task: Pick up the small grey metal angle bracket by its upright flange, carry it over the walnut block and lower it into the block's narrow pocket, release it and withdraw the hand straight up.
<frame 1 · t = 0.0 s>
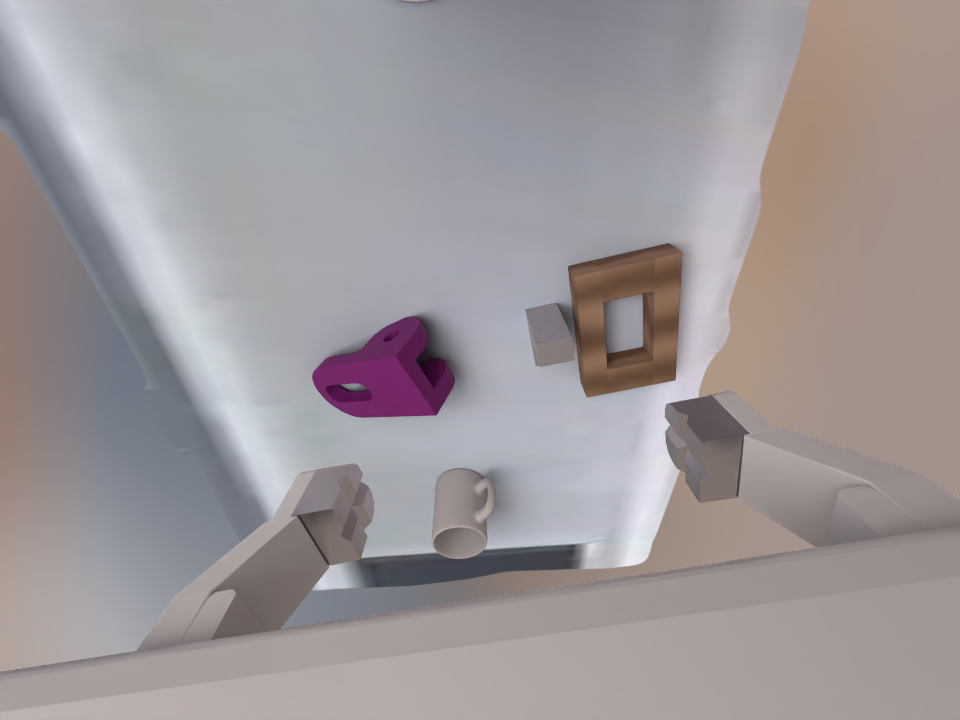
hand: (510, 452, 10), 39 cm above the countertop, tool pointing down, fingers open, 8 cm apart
mounting bracket: (380, 362, 55), on the countertop
mug: (467, 478, 68), on the countertop
well block: (620, 320, 52), on the countertop
angle bracket: (542, 316, 52), on the countertop
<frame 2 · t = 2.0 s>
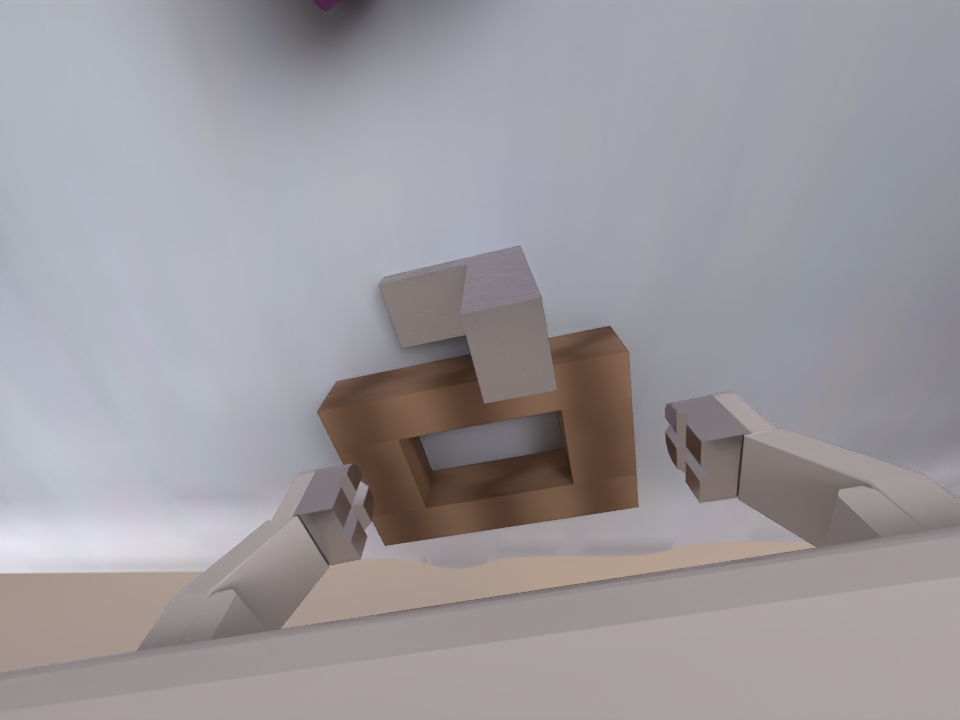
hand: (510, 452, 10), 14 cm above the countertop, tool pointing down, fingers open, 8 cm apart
well block: (488, 428, 28), on the countertop
angle bracket: (501, 285, 23), on the countertop
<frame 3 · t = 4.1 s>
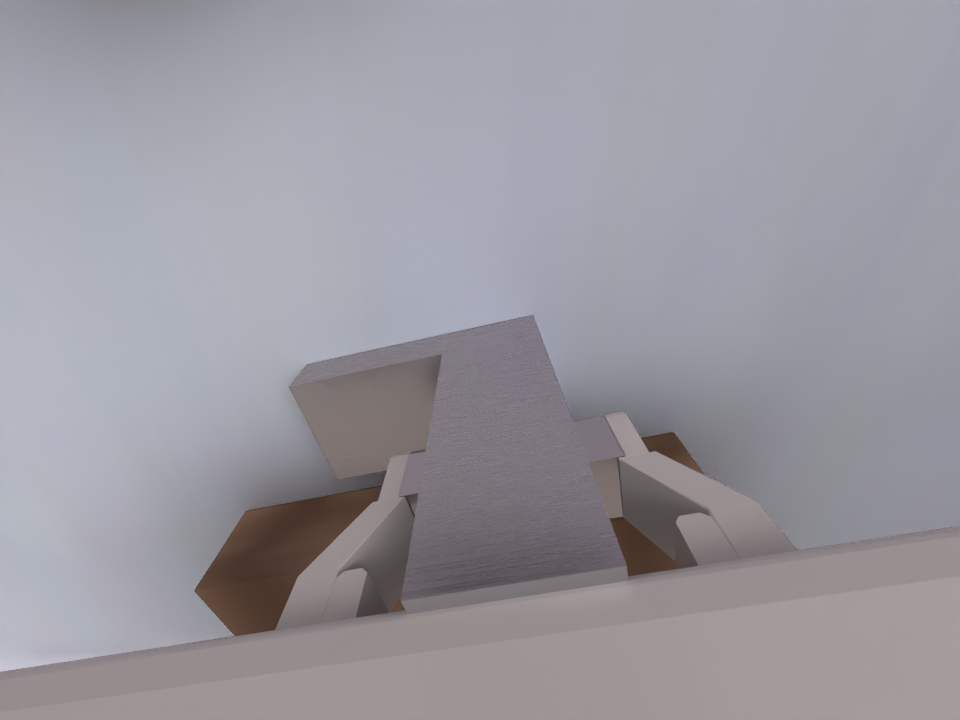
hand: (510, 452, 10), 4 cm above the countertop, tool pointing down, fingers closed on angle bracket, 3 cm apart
well block: (481, 567, 19), on the countertop
angle bracket: (500, 375, 14), on the countertop, touching gripper
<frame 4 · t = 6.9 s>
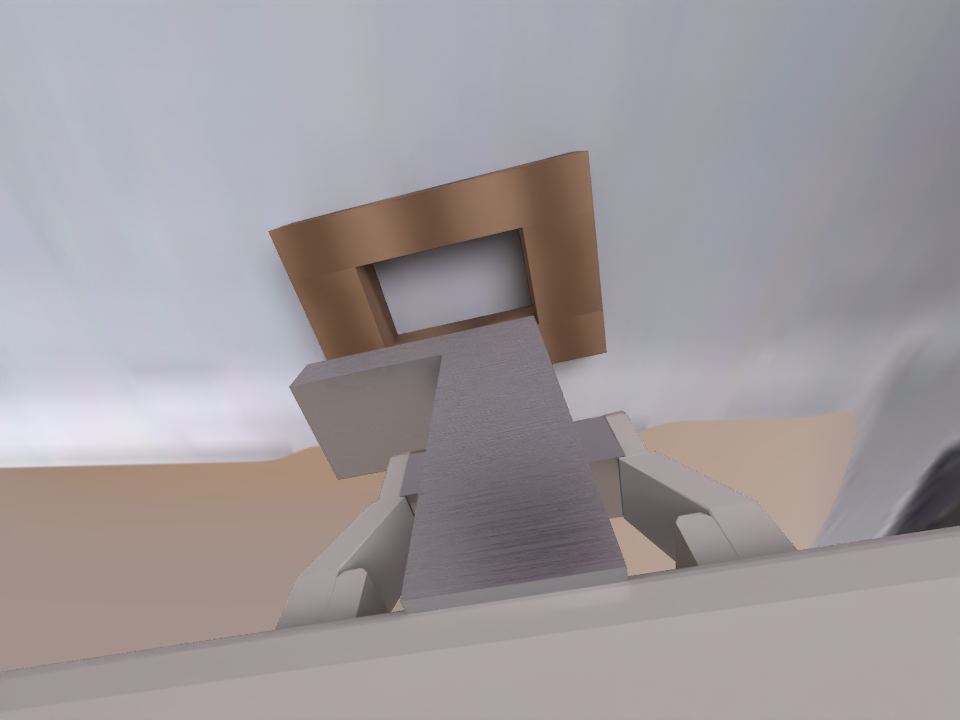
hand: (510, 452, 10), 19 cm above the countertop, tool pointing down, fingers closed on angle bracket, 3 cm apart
well block: (453, 280, 27), on the countertop
angle bracket: (501, 375, 14), point 14 cm above the countertop, touching gripper
when the fingers open (5 cm above the countertop, at t = 9.9 s): angle bracket stays where it is, resting in well block.
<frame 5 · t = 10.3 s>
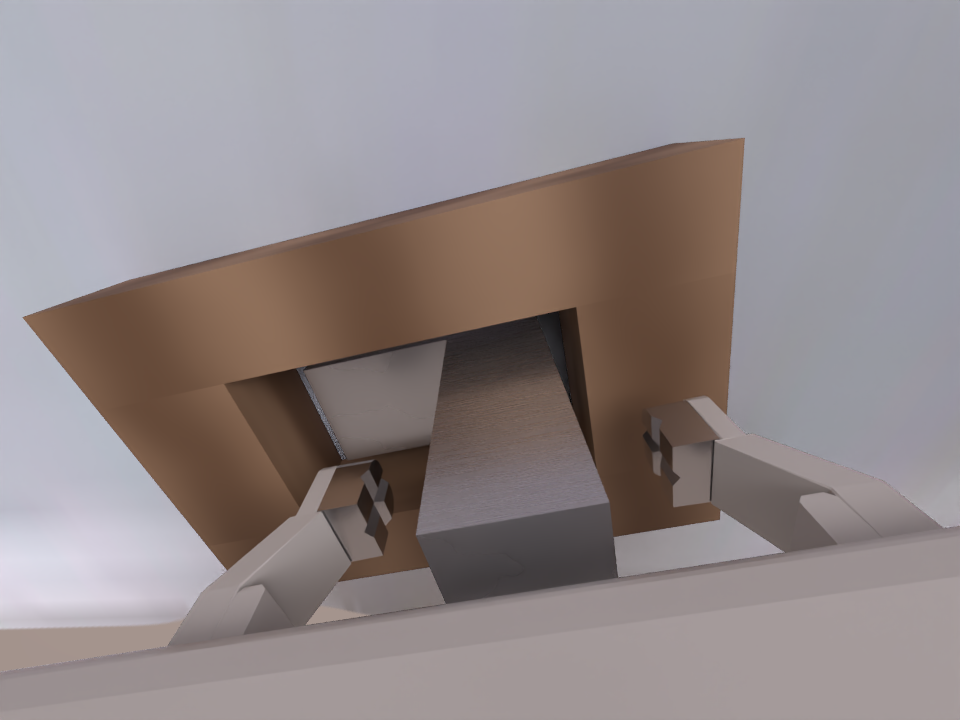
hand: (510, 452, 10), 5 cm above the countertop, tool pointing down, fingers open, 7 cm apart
well block: (434, 377, 15), on the countertop
angle bracket: (501, 362, 15), resting in well block
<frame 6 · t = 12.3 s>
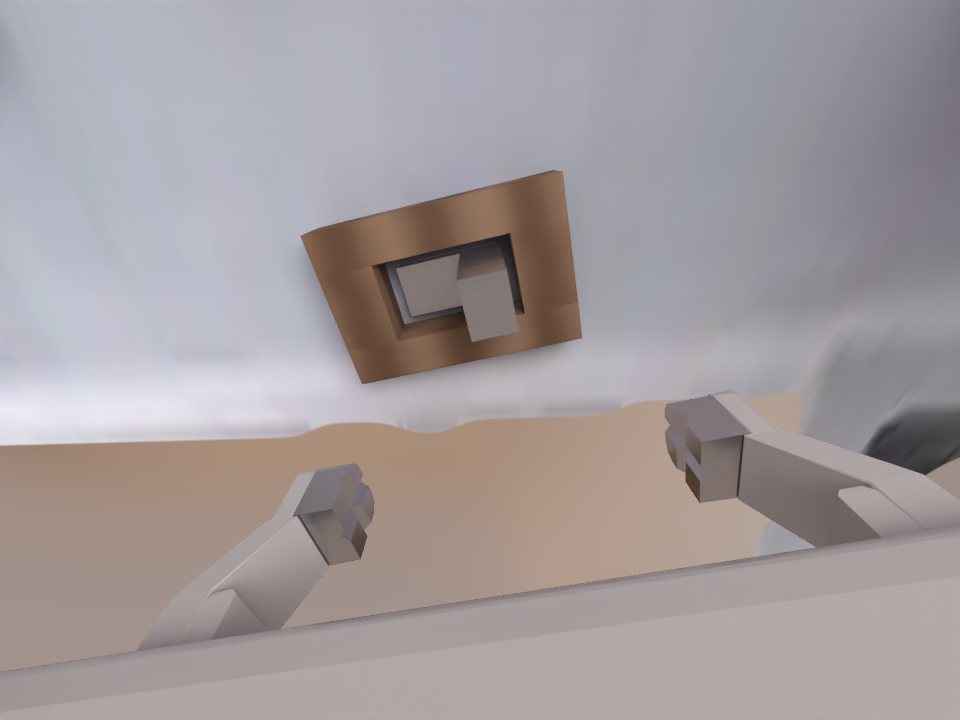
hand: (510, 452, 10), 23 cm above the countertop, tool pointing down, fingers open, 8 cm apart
well block: (452, 277, 32), on the countertop
angle bracket: (484, 270, 32), resting in well block
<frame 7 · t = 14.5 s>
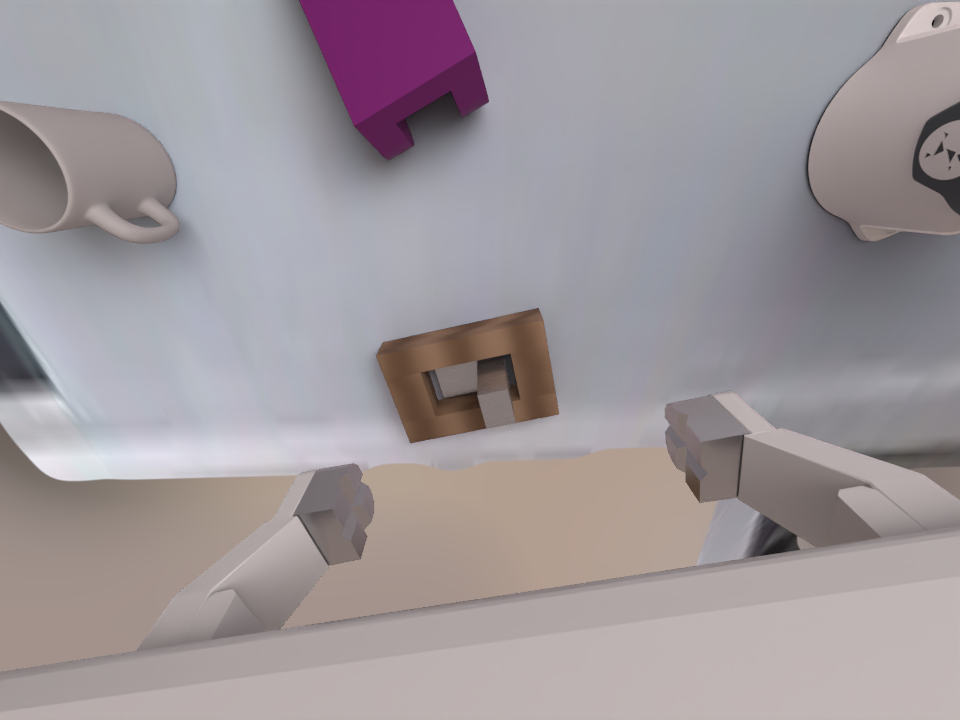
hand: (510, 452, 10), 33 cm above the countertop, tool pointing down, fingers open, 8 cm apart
mounting bracket: (386, 17, 32), on the countertop
mug: (149, 181, 38), on the countertop
well block: (471, 371, 47), on the countertop
angle bracket: (493, 366, 47), resting in well block
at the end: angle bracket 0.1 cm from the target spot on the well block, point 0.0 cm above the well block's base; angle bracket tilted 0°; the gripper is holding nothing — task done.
